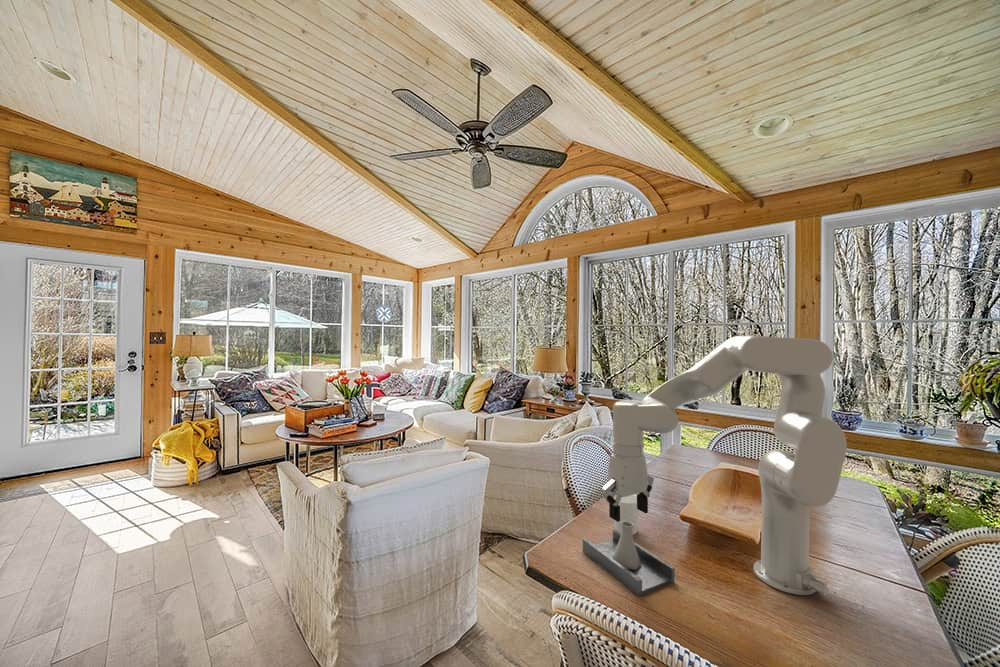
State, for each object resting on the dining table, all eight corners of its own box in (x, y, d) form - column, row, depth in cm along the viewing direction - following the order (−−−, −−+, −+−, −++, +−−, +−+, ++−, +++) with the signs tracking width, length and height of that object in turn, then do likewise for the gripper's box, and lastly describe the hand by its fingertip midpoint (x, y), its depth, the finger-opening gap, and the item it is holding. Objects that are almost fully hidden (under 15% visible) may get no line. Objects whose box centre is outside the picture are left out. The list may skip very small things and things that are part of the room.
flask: (642, 558, 101) (643, 520, 101) (639, 573, 95) (640, 533, 95) (614, 551, 105) (615, 514, 105) (609, 565, 98) (610, 526, 98)
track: (674, 582, 94) (674, 567, 94) (638, 596, 88) (639, 581, 88) (615, 542, 111) (615, 529, 111) (582, 551, 106) (582, 539, 106)
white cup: (641, 538, 114) (641, 504, 114) (613, 534, 115) (614, 501, 115) (637, 525, 122) (637, 493, 122) (611, 522, 123) (611, 491, 123)
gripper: (641, 441, 107) (641, 502, 107) (592, 450, 99) (593, 516, 99) (663, 448, 100) (664, 513, 100) (613, 458, 93) (614, 529, 92)
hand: (628, 515), depth 100 cm, fingers open, 9 cm apart
